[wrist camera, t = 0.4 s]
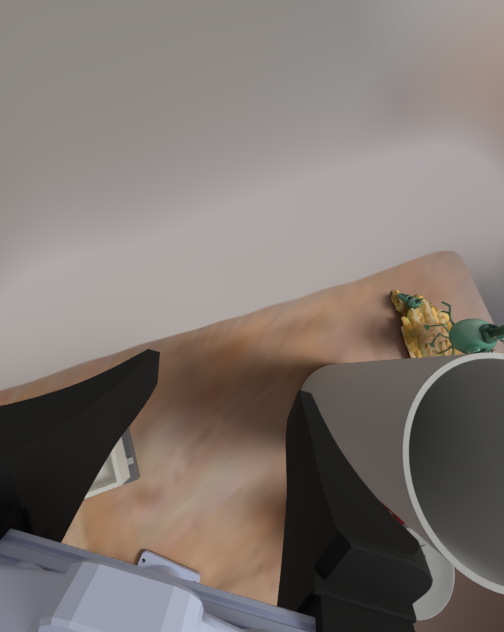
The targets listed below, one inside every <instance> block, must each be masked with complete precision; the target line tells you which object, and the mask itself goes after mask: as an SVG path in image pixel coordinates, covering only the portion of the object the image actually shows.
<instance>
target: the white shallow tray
mask: <svg viewBox="0 0 504 632" xmlns="http://www.w3.org/2000/svg"><path fill="white" fill-rule="evenodd" d="M129 477H130V473H129V468H128V464H127V459H126V455H125V450H124V446H123V441H122V437H121V438H120V439H119V441H118V442H117V444H116V445H115V447H114V448H113V450H112V451H111V453H110V455H109V456H108V458H107V460H106V461H105V463H104V465H103V466H102V468H101V470H100V472H99V473H98V475H97V477H96V479H95V480H94V482H93V484H92V486H91V487H90V489H89V491H88V493H87V495H86V496H85V498H84V499H86V498H88V497H91V496H94V495H96V494H99V493H102V492H104V491H107V490H110V489H113V488H115V487H118V486H121V485H123V484H124V483H125V481H126V480H127V479H128V478H129Z"/></svg>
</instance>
